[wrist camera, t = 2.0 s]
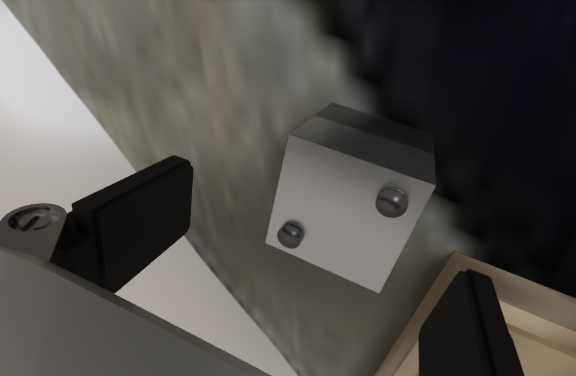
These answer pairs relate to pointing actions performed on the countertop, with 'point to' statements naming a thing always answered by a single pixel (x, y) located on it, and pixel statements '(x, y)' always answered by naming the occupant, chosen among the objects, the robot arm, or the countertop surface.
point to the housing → (352, 193)
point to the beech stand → (518, 315)
